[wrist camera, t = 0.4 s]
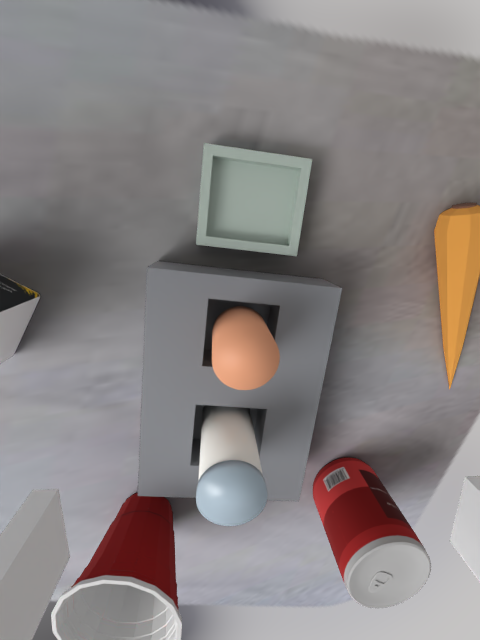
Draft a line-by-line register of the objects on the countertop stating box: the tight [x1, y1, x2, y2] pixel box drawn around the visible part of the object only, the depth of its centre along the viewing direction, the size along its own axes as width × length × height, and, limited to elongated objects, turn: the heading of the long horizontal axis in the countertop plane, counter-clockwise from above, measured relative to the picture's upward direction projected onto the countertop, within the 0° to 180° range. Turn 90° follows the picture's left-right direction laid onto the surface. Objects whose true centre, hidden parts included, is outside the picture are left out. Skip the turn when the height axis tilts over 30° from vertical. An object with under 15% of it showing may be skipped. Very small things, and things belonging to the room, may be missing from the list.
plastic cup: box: [51, 493, 182, 640], centre depth 32 cm, size 11×11×12 cm
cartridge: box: [196, 405, 268, 526], centre depth 29 cm, size 5×5×11 cm
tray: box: [196, 143, 312, 256], centre depth 29 cm, size 9×8×2 cm
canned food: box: [313, 457, 431, 608], centre depth 34 cm, size 8×8×11 cm
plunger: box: [212, 306, 280, 390], centre depth 26 cm, size 5×5×6 cm
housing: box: [138, 261, 342, 501], centre depth 32 cm, size 16×22×5 cm
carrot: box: [434, 203, 480, 389], centre depth 33 cm, size 20×4×4 cm, turn 11°
